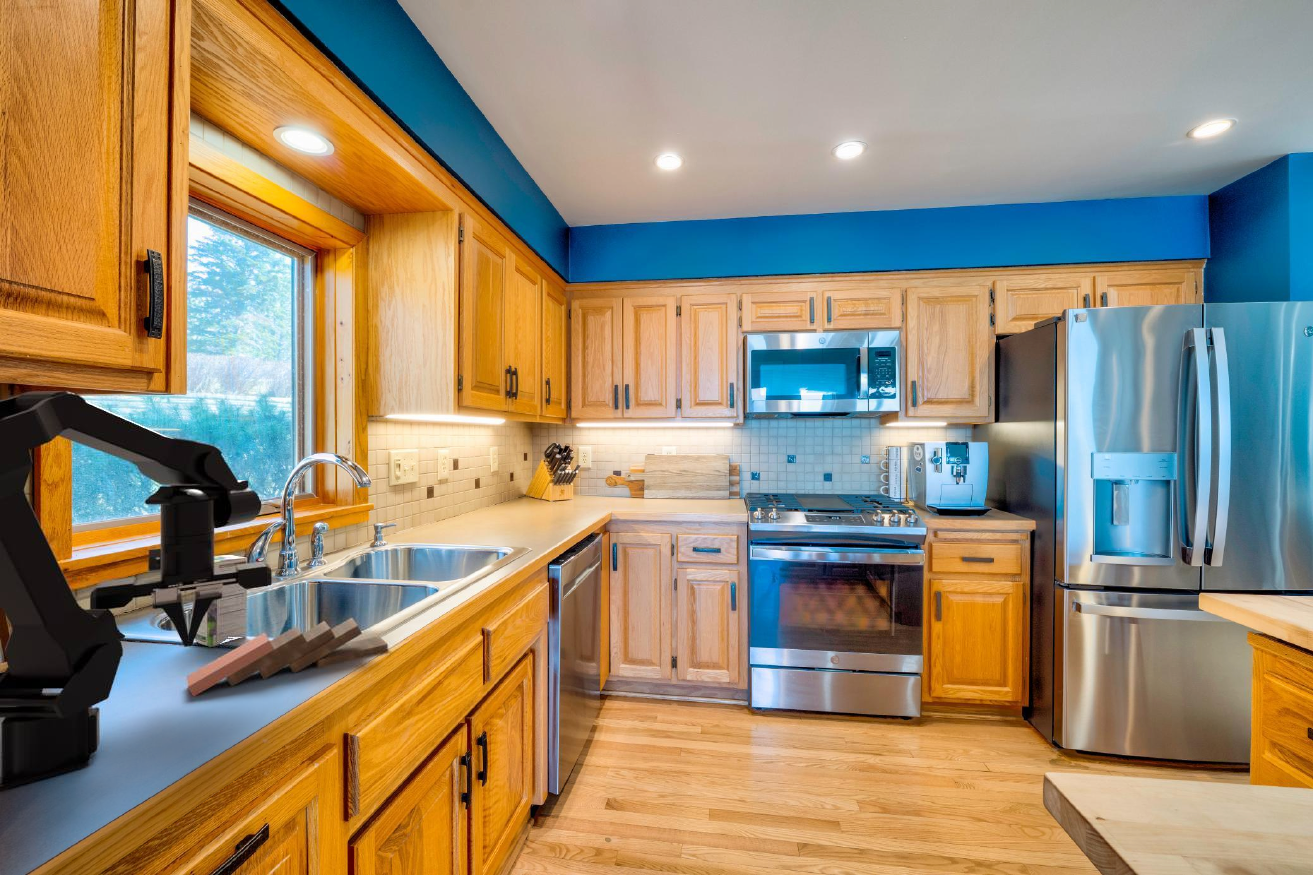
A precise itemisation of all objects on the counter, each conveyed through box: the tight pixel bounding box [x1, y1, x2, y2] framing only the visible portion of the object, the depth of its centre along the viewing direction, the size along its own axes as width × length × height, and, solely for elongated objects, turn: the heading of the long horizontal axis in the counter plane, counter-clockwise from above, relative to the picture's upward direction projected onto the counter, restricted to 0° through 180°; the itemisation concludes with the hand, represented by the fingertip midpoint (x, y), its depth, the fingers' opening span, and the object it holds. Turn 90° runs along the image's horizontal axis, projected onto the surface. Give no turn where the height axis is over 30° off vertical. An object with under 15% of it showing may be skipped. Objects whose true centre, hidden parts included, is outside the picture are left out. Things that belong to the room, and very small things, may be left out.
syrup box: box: [194, 554, 248, 648], centre depth 97 cm, size 6×6×14 cm
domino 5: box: [314, 635, 389, 669], centre depth 90 cm, size 2×5×10 cm
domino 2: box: [225, 625, 307, 687], centre depth 82 cm, size 2×5×10 cm
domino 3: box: [258, 620, 335, 680], centre depth 85 cm, size 2×5×10 cm
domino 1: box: [186, 632, 274, 697], centre depth 80 cm, size 2×5×10 cm
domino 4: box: [288, 617, 363, 674], centre depth 87 cm, size 2×5×10 cm
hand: (188, 645), depth 76 cm, fingers closed
